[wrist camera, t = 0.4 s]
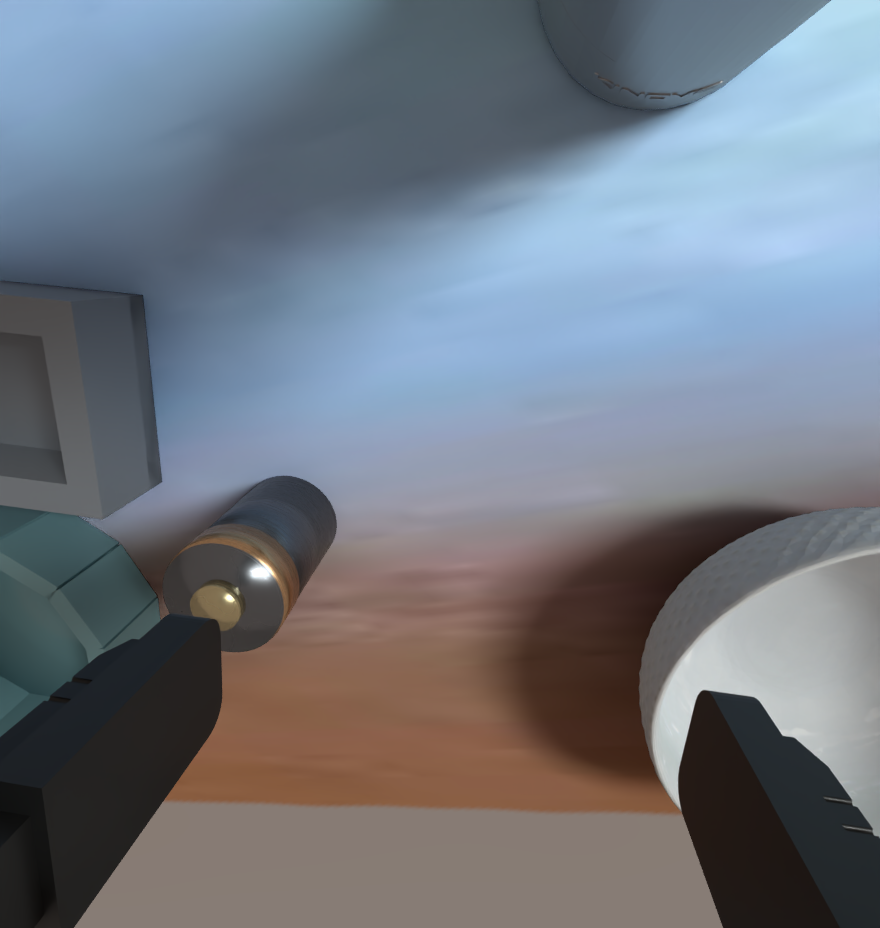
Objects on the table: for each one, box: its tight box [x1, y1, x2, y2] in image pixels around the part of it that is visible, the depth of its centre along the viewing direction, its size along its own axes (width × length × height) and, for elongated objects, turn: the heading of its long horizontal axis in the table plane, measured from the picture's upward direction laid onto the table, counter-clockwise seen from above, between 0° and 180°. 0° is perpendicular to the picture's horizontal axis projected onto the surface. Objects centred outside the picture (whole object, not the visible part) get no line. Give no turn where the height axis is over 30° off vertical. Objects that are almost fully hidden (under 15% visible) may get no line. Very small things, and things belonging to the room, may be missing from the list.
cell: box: [163, 476, 337, 652], centre depth 25 cm, size 5×5×8 cm
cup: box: [0, 505, 160, 737], centre depth 31 cm, size 14×14×4 cm
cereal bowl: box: [639, 507, 880, 838], centre depth 24 cm, size 17×17×7 cm
